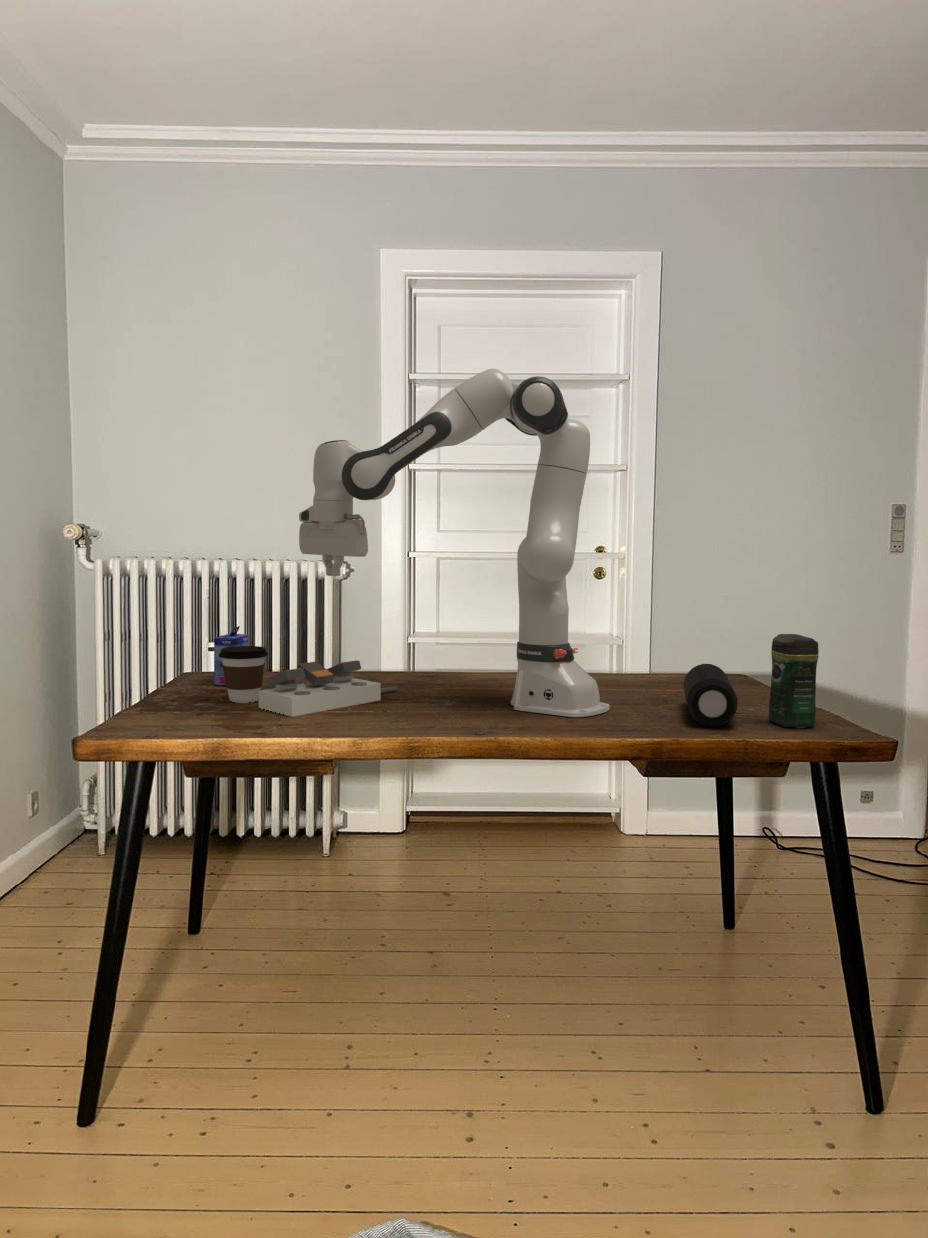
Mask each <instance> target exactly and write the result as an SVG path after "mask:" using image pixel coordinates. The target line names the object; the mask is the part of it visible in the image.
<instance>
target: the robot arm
mask: <svg viewBox="0 0 928 1238" xmlns="http://www.w3.org/2000/svg"><path fill="white" fill-rule="evenodd" d="M568 416H569V412H568V409H567V406H566V403H565V399H564V396H563V393H562V392H561V389H560V388H559V386H558V385H557V384H556V383H555V382H554V381H553V380H551V379H549V378H547V377H545V376H538V375H537V376H531V377H529V378H526V379H524V380H523V381H522V382H521V383H519V384H515V383H514V382H512V381H511V379H510V378H509V376H508V375H507V374H506V373H505V372H503V371H501V370H500V369H497V368H488V369H486V370H483V371H481V372H479V373H477V374H474V375H473V376H472V377H469V378H467V379H466V380H465V381H463V382H461V383H460V384H458V385H457V386H456V387H454V388H452V389H451V390H450V391H449V392H447V393H446V394H444V395H443V396H442V397H441V398H440V399H439V400H437V402H436V403H434V405H432V407H430V408H429V410H428V411H426V412H425V414H424V415H423V416H421V417H420V418H419V419H418V420H417V421H416V422H415V423H414V424H412V425H411V426H409V427H408V428H406V429H405V430H403V431H402V432H401V433H399V434H398V435H396V436H395V437H393V438H391V440H389V441H387V442H386V443H384V444H383V445H381V446H379V447H377V448H374V449H369V450H362V449H360V448H358V447H357V446H355V445H354V444H352V443H351V442H350V441H348V440H345V439H344V440H343V439H340V440H339V439H338V440H330V441H325V442H323V443H321V444H319V445H318V446H317V447H316V450H315V452H314V458H313V469H312V470H313V471H312V473H313V474H312V477H313V478H312V480H313V481H312V482H313V487H314V495H313V499H312V500H313V501H312V503H313V505H310V507H308V508H306V509H304V510H302V511H300V512H299V513H298V521H299V522H301V524H300V526H299V528H298V529H299V535H298V536H299V537H298V540H299V541H298V545H299V546H298V547H299V549H300V552H301V554H302V555H317V556H318V555H319V556H321V557H322V558H321V559H322V563H323V565H324V568H325V574H326V575H325V576H326V577H340V575H341V568H342V566H343V564H344V562H345V557H353V558H354V557H355V558H358V557H360V558H361V557H366V555H367V554H368V553H369V543H368V542H369V541H368V534H367V533H368V532H367V527H366V522H365V520H364V519H363V517H362V516H361V515H360V514H357V513H356V514H354V498H355V499H357V500H360V501H376V500H381V499H383V498H384V499H385V497H387V496H388V495H389V494H390V493H391V492H392V491H393V489H394V488H395V485H396V475H397V473H399V472H400V471H401V470H403V469H404V468H406V467H407V466H408V465H410V464H411V463H413V462H415V461H416V460H417V459H419V458H420V457H421V456H423V455H424V454H426V453H428V452H430V451H432V450H435V449H438V448H443V447H452V446H457V445H461V444H462V443H464V442H466V441H468V440H470V439H472V438H474V437H475V436H477V435H478V434H479V433H481V432H482V431H484V430H485V429H487V428H488V427H489V426H491V425H493V423H496V422H497V421H500V420H501V419H505V421H507V423H510V424H511V425H512V426H513V427H514V428H516V429H517V430H518V431H520V432H521V433H523V434H525V435H528V436H534V437H535V436H537V437H538V439H539V443H540V452H539V457H538V463H537V466H536V470H535V475H534V481H533V486H532V490H531V491H532V492H531V496H530V504H529V505H530V506H529V514H528V523H527V530H526V536H525V537H524V538H523V540H522V541H521V542H520V544H519V546H518V549H517V554H516V556H517V558H516V559H517V561H516V565H517V587H518V588H517V589H518V590H517V591H518V606H519V607H518V611H519V612H518V641H517V642H516V659H517V660H516V661H517V671H516V678H515V679H516V680H515V684H514V690H513V694H512V698H511V700H510V704H511V706H513V710H514V711H515V710H516V711H521V712H529V713H535V714H536V713H537V714H545V715H553V716H561V717H567V718H568V717H569V718H584V717H592V716H596V715H600V714H603V713H606V712H608V711H610V703H606V702H602V701H600V700H601V699H600V691H599V685H598V683H597V680H596V679H594V677H592V676H591V675H590V674H589V673H588V672H586V670H585V669H584V668H582V666H581V665H579V664H578V662H577V661H575V656H574V654H578V653H579V651H578V649H579V647H574V648H572V646H571V644H570V643H569V612H570V611H569V609H570V608H569V602H568V592H567V580H566V579H567V578H566V576H568V574H569V573H570V572H571V569H572V568H573V564H574V560H575V554H576V546H577V539H578V531H579V518H580V517H579V516H580V510H581V509H580V508H581V506H582V499H583V494H584V489H585V485H586V480H587V475H588V468H589V462H590V456H591V455H590V453H591V432H590V430H589V428H588V427H587V426H586V424H584V423H583V422H581V421H579V420H577V419H574V418H569V417H568Z"/></svg>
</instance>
